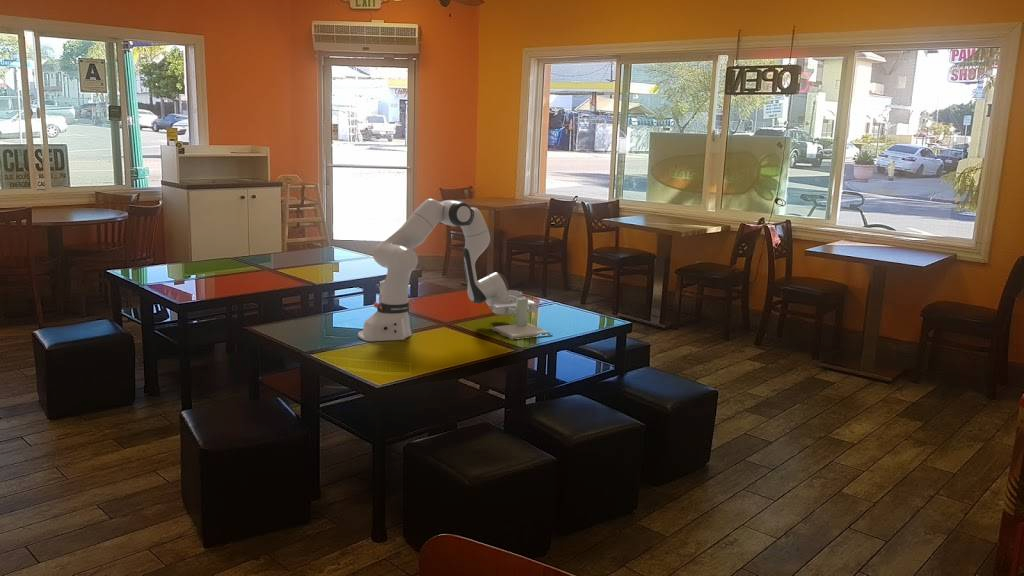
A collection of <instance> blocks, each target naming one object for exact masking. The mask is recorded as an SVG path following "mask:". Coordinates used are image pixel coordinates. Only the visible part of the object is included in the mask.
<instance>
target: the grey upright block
mask: <svg viewBox="0 0 1024 576" xmlns="http://www.w3.org/2000/svg"><path fill="white" fill-rule="evenodd" d="M528 300H529V299H528V298H527V297H526V298H516V309H517V310H518V313H517V314H515V324H516V326H518V327H526V326H527V323H528V313H527V310H528Z"/></svg>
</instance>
